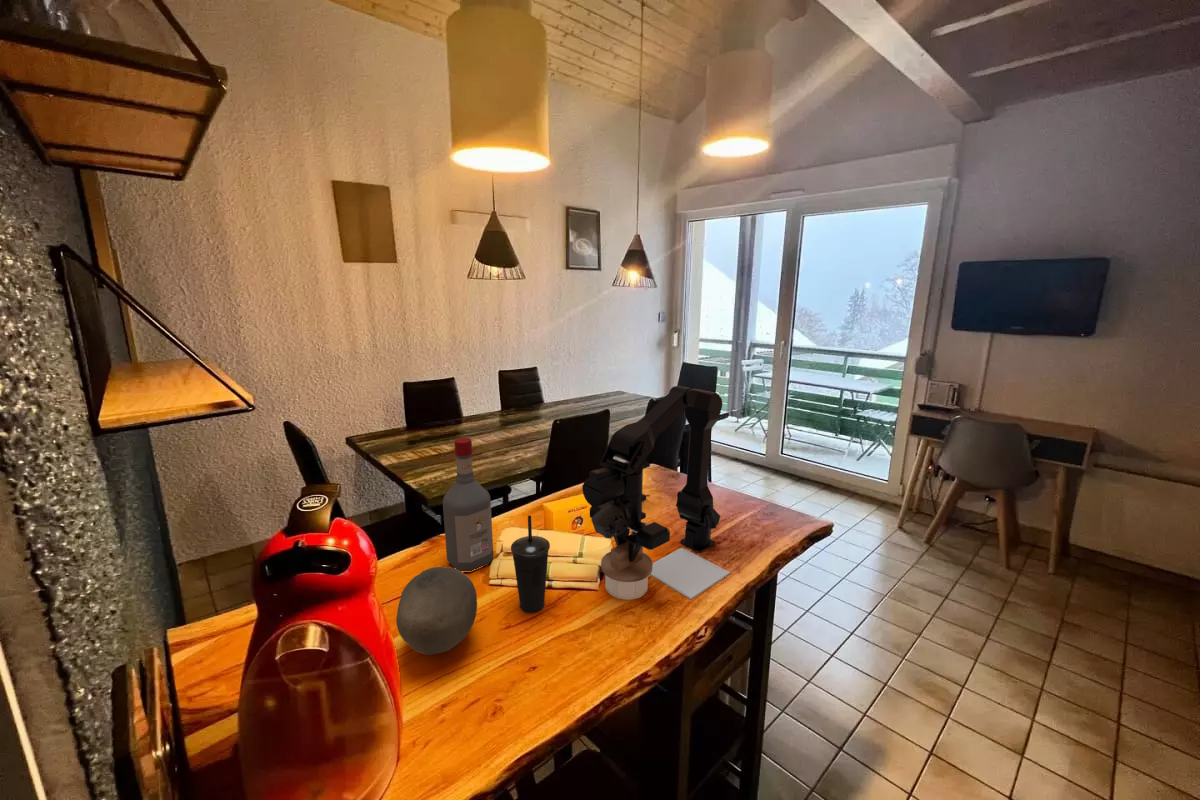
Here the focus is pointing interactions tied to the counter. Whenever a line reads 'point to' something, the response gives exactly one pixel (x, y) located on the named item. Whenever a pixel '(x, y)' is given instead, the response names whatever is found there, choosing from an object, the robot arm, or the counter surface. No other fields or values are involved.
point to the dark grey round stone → (436, 610)
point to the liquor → (467, 515)
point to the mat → (687, 572)
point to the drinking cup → (531, 570)
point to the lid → (626, 564)
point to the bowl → (626, 588)
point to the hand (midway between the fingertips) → (627, 558)
